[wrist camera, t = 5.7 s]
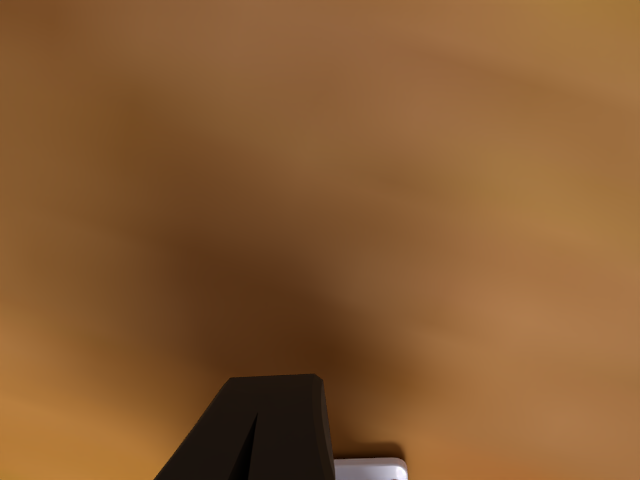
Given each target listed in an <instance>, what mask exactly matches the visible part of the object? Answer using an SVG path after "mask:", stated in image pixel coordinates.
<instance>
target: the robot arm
mask: <svg viewBox="0 0 640 480" xmlns="http://www.w3.org/2000/svg"><path fill="white" fill-rule="evenodd" d="M392 479H397V480H408V474H407V466H406V463H405V462H404V461H403V460H401V459H399V458H393V457H391V458H362V459H333V451H332V444H331V437H330V429H329V422H328V414H327V407H326V399H325V392H324V384H323V380H322V379H321V378H319V377H318V376H317V375H315V374H298V375H277V376H257V377H236V378H230V379H229V380H228V381H227V382H226V383H225V384H224V385H223V387H222V388H221V389H220V391H219V392H218V394H217V395H216V396H215V398H214V399H213V401H212V402H211V403H210V405H209V406H208V408H207V409H206V410H205V412H204V413H203V415H202V416H201V417H200V419H199V420H198V422H197V423H196V424H195V426H194V427H193V429H192V430H191V431H190V433H189V434H188V435H187V437H186V438H185V439H184V441H183V442H182V443H181V445H180V446H179V447H178V449H177V450H176V451H175V453H174V454H173V455H172V457H171V458H170V459H169V460H168V462H167V463H166V464H165V466H164V467H163V468H162V469H161V471H160V472H159V473H158V475H157V476H156V477H155V478H154V480H392Z"/></svg>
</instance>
